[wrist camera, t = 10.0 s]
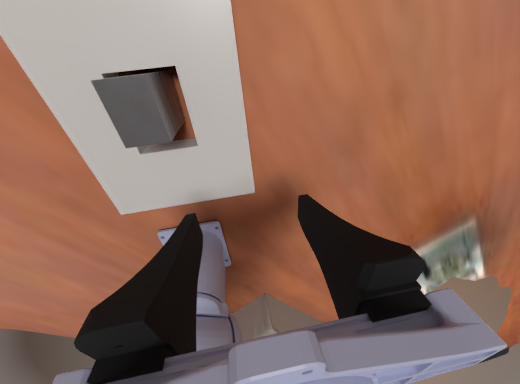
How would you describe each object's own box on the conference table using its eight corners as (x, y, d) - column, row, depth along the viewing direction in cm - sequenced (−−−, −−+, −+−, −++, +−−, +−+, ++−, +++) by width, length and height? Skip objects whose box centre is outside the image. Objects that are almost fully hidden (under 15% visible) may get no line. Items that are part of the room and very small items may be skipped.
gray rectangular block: (185, 120, 18) (171, 142, 13) (152, 124, 18) (125, 148, 13) (170, 70, 16) (146, 74, 11) (132, 74, 16) (90, 80, 11)
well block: (252, 180, 23) (255, 192, 21) (130, 200, 22) (121, 214, 20) (221, -52, 13) (220, -74, 11) (-12, -37, 12) (-62, -58, 10)
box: (335, 324, 54) (264, 289, 38) (350, 359, 48) (272, 336, 32) (272, 353, 61) (187, 335, 44) (277, 387, 55) (181, 381, 38)
